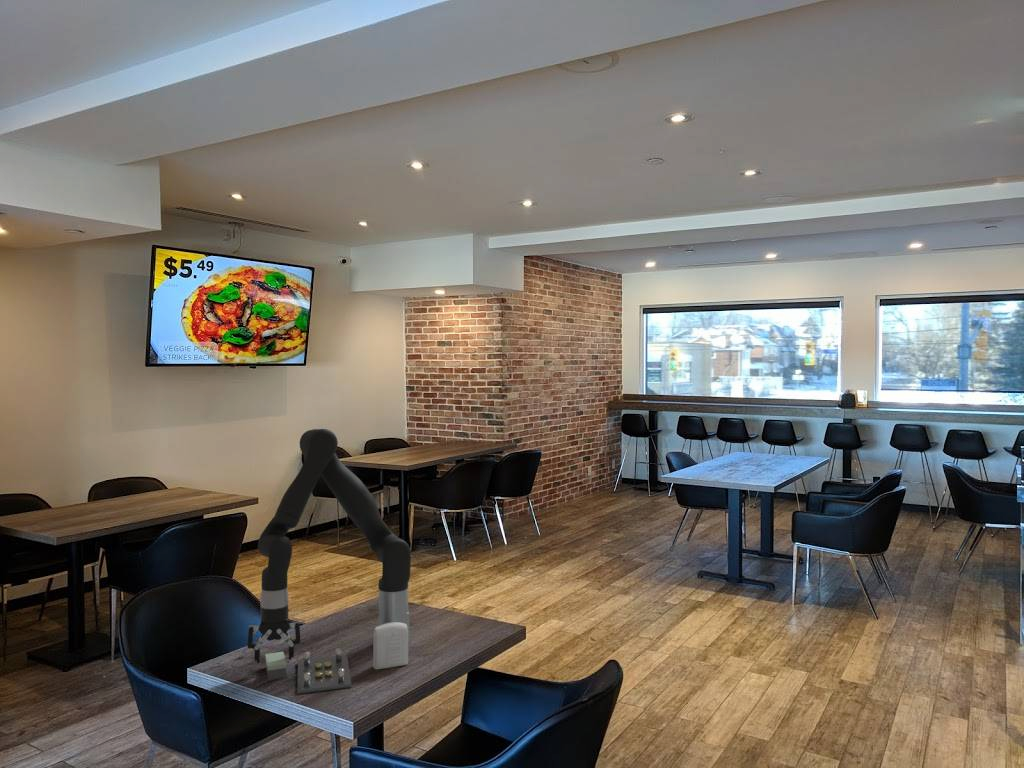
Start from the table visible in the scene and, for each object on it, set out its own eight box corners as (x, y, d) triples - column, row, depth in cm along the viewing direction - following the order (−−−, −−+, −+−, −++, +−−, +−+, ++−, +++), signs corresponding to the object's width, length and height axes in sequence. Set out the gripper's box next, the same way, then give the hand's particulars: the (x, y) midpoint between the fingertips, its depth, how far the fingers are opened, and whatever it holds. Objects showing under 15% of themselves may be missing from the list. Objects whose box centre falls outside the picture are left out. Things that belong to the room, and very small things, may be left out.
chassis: (346, 657, 215) (346, 644, 215) (351, 687, 195) (351, 672, 195) (297, 663, 211) (297, 649, 211) (297, 693, 191) (297, 679, 191)
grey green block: (283, 665, 211) (283, 651, 211) (286, 678, 202) (286, 664, 202) (265, 667, 209) (265, 654, 209) (267, 681, 200) (267, 667, 200)
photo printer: (406, 659, 213) (405, 618, 213) (410, 665, 210) (409, 622, 209) (371, 666, 209) (371, 623, 209) (375, 671, 205) (374, 628, 205)
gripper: (300, 597, 211) (300, 653, 211) (248, 601, 207) (248, 658, 207) (300, 605, 203) (300, 662, 204) (246, 609, 199) (246, 668, 200)
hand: (274, 660), depth 205 cm, fingers open, 8 cm apart
